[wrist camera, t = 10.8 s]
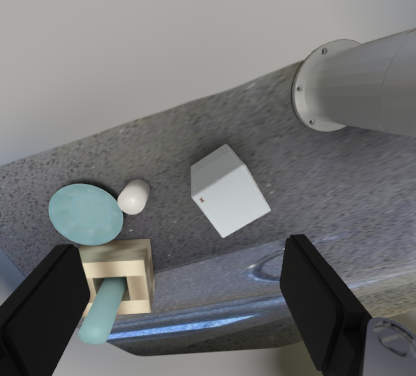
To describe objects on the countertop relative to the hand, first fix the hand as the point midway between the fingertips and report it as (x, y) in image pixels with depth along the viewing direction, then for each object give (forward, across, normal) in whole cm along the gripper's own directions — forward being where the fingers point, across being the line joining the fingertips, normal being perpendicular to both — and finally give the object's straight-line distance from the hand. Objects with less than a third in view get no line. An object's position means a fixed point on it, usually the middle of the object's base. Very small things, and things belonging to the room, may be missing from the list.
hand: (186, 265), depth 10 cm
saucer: (+28, +18, +12) cm, 35 cm away
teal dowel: (+28, +14, +24) cm, 39 cm away
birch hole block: (+28, +14, +24) cm, 39 cm away
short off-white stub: (+28, +9, +8) cm, 31 cm away
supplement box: (+28, -5, +5) cm, 29 cm away
